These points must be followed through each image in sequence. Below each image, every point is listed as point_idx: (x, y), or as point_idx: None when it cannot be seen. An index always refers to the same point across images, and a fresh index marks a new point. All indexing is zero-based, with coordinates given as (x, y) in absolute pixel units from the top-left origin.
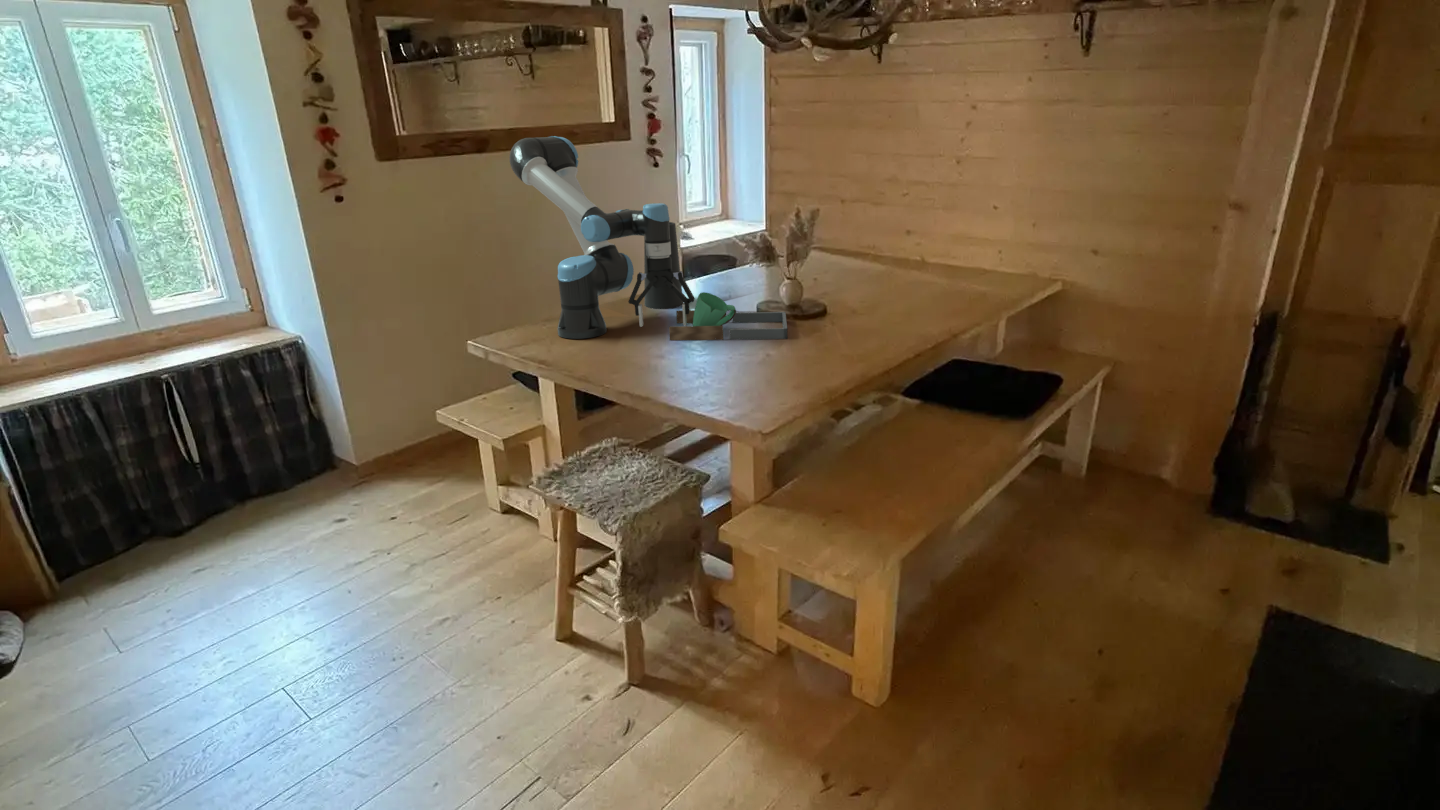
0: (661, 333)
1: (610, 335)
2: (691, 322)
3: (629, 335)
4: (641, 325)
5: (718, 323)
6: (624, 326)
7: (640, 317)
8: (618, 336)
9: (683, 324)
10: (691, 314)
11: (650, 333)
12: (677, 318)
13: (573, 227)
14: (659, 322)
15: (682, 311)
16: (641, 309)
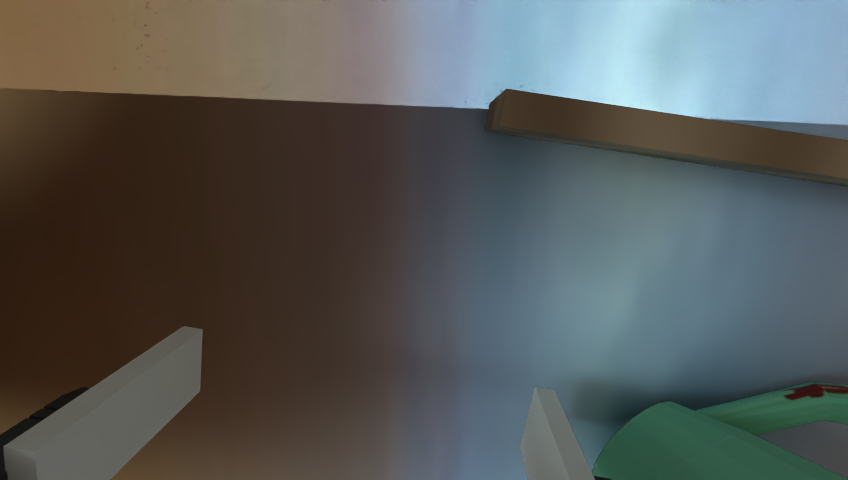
0: (357, 404)
1: (20, 381)
2: (611, 149)
3: None
4: (190, 396)
5: (813, 419)
6: (59, 145)
7: (139, 440)
8: None
9: (522, 454)
10: (649, 151)
11: (282, 388)
12: (497, 130)
13: None
14: (336, 60)
15: (567, 137)
16: (88, 461)
